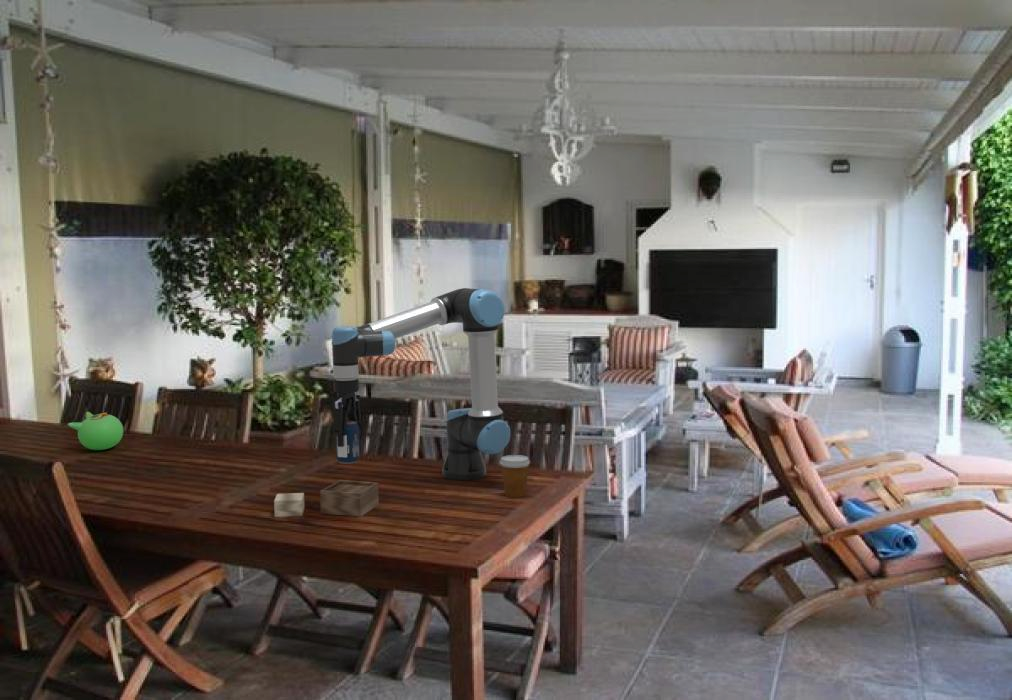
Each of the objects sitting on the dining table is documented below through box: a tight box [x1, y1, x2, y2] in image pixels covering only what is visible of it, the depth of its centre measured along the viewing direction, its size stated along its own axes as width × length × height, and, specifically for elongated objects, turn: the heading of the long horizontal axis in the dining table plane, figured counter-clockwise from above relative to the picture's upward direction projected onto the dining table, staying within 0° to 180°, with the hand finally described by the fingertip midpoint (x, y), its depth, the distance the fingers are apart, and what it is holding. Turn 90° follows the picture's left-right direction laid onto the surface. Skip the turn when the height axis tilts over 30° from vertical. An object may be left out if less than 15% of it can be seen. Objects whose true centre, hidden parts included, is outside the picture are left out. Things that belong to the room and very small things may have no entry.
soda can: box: [335, 419, 361, 464], centre depth 288 cm, size 7×7×12 cm
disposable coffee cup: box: [499, 454, 531, 498], centre depth 303 cm, size 10×10×12 cm
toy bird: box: [67, 411, 124, 451], centre depth 373 cm, size 18×17×15 cm
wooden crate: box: [319, 479, 380, 518], centre depth 290 cm, size 13×13×7 cm
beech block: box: [273, 492, 305, 518], centre depth 287 cm, size 8×8×5 cm
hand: (348, 453), depth 288 cm, fingers closed on soda can, 7 cm apart
